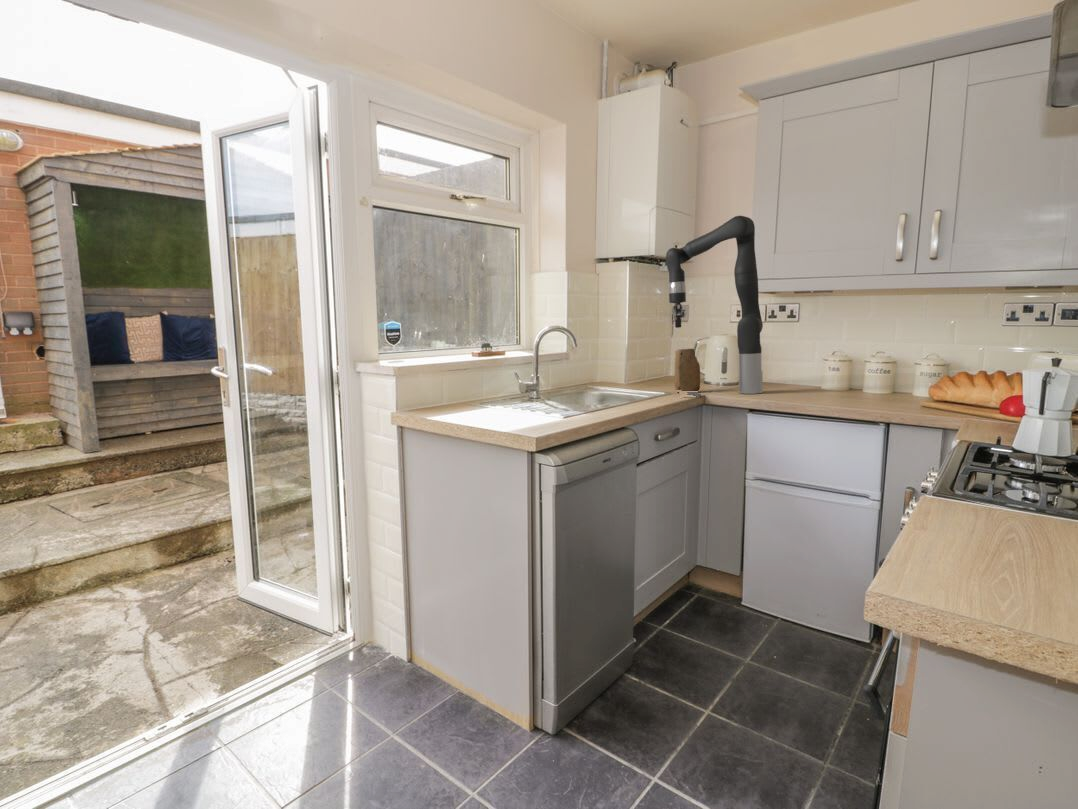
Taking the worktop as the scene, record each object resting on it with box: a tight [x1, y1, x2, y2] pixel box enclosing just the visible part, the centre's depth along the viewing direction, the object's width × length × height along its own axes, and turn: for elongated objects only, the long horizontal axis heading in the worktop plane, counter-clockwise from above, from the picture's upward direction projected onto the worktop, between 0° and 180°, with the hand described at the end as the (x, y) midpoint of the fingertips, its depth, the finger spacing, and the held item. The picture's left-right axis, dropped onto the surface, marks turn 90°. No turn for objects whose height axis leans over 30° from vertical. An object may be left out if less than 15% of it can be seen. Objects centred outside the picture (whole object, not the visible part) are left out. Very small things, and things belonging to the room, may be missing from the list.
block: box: [674, 348, 701, 392], centre depth 266 cm, size 11×8×20 cm
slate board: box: [687, 391, 701, 398], centre depth 253 cm, size 8×12×1 cm, turn 169°
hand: (678, 327), depth 272 cm, fingers open, 8 cm apart
